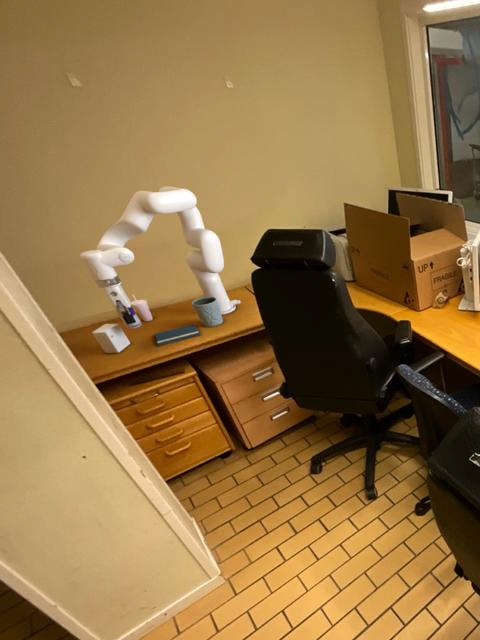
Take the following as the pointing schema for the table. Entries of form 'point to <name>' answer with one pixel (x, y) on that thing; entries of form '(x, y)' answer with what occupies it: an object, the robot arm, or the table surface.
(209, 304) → the blue plant pot
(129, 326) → the energy drink
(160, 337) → the book
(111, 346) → the small box
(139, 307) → the smoothie
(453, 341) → the table surface
